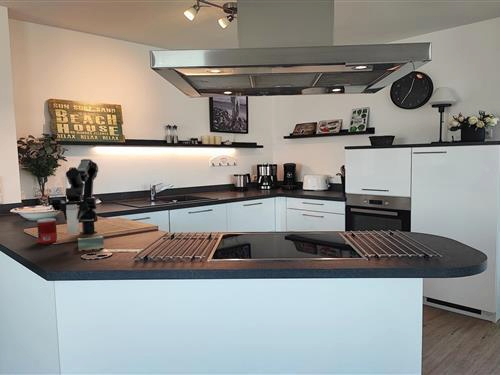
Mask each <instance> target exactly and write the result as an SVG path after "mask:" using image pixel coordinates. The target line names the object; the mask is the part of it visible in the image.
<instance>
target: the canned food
mask: <svg viewBox="0 0 500 375" xmlns="http://www.w3.org/2000/svg"><path fill="white" fill-rule="evenodd" d="M36 222H37V223H36V224H37V236H38V238H37V239H38V243H39V244H43V245H47V244H53V243H56V242H57V241H56V240H57V239H58V235H57V234H58V232H57V220H56V218H53V217H51V218H49V217H47V218H42V219H41V218H40V219H38V220H37V221H36ZM55 241H56V242H55ZM52 242H53V243H52Z"/></svg>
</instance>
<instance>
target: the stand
mask: <svg viewBox="0 0 500 375" xmlns="http://www.w3.org/2000/svg"><path fill="white" fill-rule="evenodd" d="M77 245H78V252H83V251H82V250H85V251H93V250H92V249H94V250H101V249H100V248H104V249H105V246H104V245H105V244H104V236H102V235H101V236H97V237H88V238H87V237H86V238H81V237H80V238H77Z"/></svg>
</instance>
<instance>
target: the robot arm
mask: <svg viewBox="0 0 500 375" xmlns="http://www.w3.org/2000/svg"><path fill="white" fill-rule="evenodd" d="M98 173H99V166H98V164H97V163H96V162H94V161H93V160H92V159H90V158H87V159H86V158H85V159H81V160H80V163H79V165H78V166H77V167H71V169H68V170H67V171H66V172H65V176H66V178H67V182H68V184H69V185H70V187H67V188H65V197H66V200H67V201H66V200H63V199H62V198H52V199H51V200H50V205H51V207H52V209H53V211H60V212H63V217H64V220H65V221H67V217H66V205H68V204H77V207H78V216H77V219H78V221H79V224H81V228H82V231H79V234H81V233H82V235H86V234H87V235H91V233H92V234H96V233H98V231H95V223H98V222H99V221H98V214H97V212H96V209H97V207H98V206H97V200H96V198H95V197H93V191H94V180H95V179H96V178H97V177H98Z"/></svg>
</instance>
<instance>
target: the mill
mask: <svg viewBox="0 0 500 375" xmlns="http://www.w3.org/2000/svg"><path fill="white" fill-rule="evenodd" d="M78 211H79V207H78V206H77V204H68V205H66V217H67V220H66V230H67V231H66V232H67V233H66V234H68V235H75V234H80V227H79V226H80V223H79V221H78V219H77V216H78Z"/></svg>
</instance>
